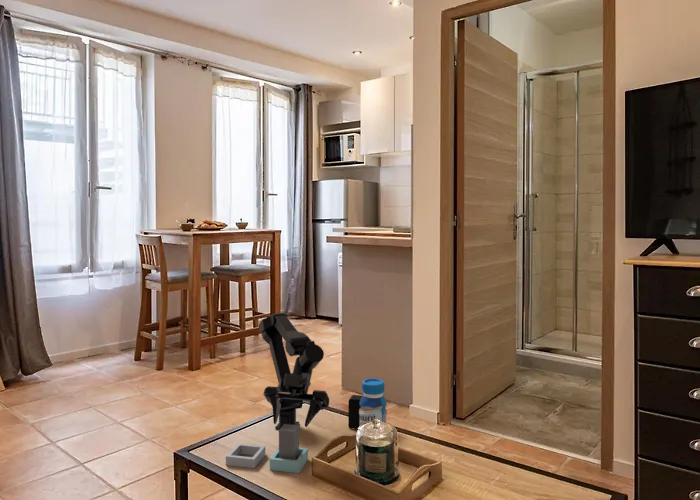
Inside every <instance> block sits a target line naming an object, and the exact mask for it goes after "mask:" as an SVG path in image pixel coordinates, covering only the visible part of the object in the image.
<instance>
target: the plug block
mask: <svg viewBox="0 0 700 500" xmlns="http://www.w3.org/2000/svg"><path fill="white" fill-rule="evenodd" d="M278 448H279V458H281V459H291V460H297V459H298V458H299V448H300V424H299V425H290V424H284V425H283V426H282V427H281V428H280V429H278Z"/></svg>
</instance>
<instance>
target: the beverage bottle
mask: <svg viewBox="0 0 700 500" xmlns="http://www.w3.org/2000/svg"><path fill="white" fill-rule="evenodd" d="M361 391H362V393H363V395H361V396H362V398H361V400H360V406H361V408H360V410H359V415H360V426H362V425H363V424H366V423H368V422H371V421H372V420H374V419H378V420H380V421H382V422H384V423H386V424H387V416H388V410H387V408H386V407H387V405H388V403H387V400H386V398H385V396H384V395H383V394H385V381H384V380H382V379H380V378H374V377H373V378H366V379H363V380H362V384H361Z"/></svg>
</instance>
